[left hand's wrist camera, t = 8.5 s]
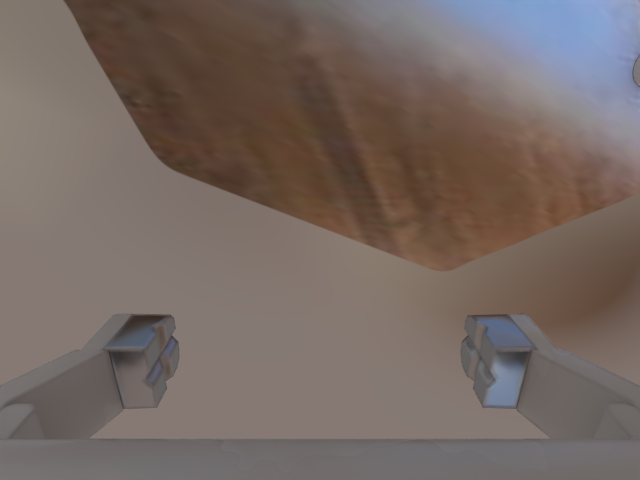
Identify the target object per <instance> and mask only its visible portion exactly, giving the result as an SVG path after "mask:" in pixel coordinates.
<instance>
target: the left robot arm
mask: <svg viewBox="0 0 640 480" xmlns="http://www.w3.org/2000/svg"><path fill="white" fill-rule="evenodd" d="M175 329H176V326H175V321H174V318H173V317H172V316H171V315H161V314H116V315H113V316H112V317H111V318H110V319H109V320H108V321H107V322H106V323H105V324H104V325H103V327H102V328H101V329H100V330H99V331H98V332H97V333H96V334H95V335H94V336H93V337H92V338H91V340H90V341H89V342H88V343H87V344H86V345H85V346H84V347H83V348H82V349H81V350H74V351H72V352H70V353H68V354H65V355H63V356H61V357H59V358H57V359H55V360H53V361H51V362H49V363H47V364H44V365H42V366H40V367H38V368H36V369H34V370H32V371H30V372H28V373H26V374H23V375H21V376H19V377H17V378H15V379H13V380H11V381H9V382H7V383H5V384H3V385H1V386H0V480H640V386H639V385H637V384H635V383H633V382H631V381H629V380H627V379H625V378H623V377H621V376H618V375H616V374H614V373H612V372H610V371H608V370H606V369H604V368H602V367H600V366H598V365H595V364H593V363H591V362H589V361H587V360H585V359H583V358H581V357H579V356H577V355H574V354H572V353H570V352H568V351H566V350H559V349H558V348H557V347H556V346H555V345H554V344H553V343H552V342H551V341H550V340H549V339H548V337H547V336H546V335H545V334H544V333H543V332H542V331H541V330H540V329H539V328H538V327H537V325H536V324H535V323H534V322H533V321H532V320H531V319H530V318H529V317H528V316H527V315H525V314H502V315H468V316H467V318H466V321H465V326H464V329H465V330H466V332H467V334H468V336H467V337H466V338H465V339H464V340H463V341H462V344H461V363H462V366H463V369H464V371H465V373H466V376H467V377H469V378H470V379H472V380H473V381H474V386H473V389H474V391H475V393H476V395H477V397H478V399H479V401H480V403H481V405H482V407H483V408H504V409H517V411H518V412H519V413H520V414H522V415H523V416H524V417H525V418H527V419H528V420H529V421H530V422H531V423H533V424H534V425H535V426H536V427H538V428H539V429H540V430H541V431H543V432H544V433H545V434H546V435H547V436H549V437H550V438H551V439H89V438H90V437H92V436H93V435H94V434H95V433H96V432H98V431H99V430H100V429H101V428H102V427H104V426H105V425H106V424H107V423H109V422H110V421H111V420H112V419H114V418H115V417H116V416H117V415H118V414H120V413H121V412H122V411H123V409H135V408H157V407H158V405H159V403H160V401H161V399H162V397H163V395H164V393H165V391H166V389H167V386H166V381H167V380H168V379H170V378H171V377H173V376H174V373H175V371H176V369H177V366H178V361H179V344H178V341H177V340H176V339H175V338H174V337H173V336H172V334H173V332H174V330H175Z"/></svg>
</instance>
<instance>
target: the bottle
mask: <svg viewBox="0 0 640 480" xmlns="http://www.w3.org/2000/svg"><path fill="white" fill-rule="evenodd" d="M633 77H634V80H635V82H636V84H637V85H638V86H640V56H639V58H638V59H637V61H636V63H635V66H634V70H633Z"/></svg>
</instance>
